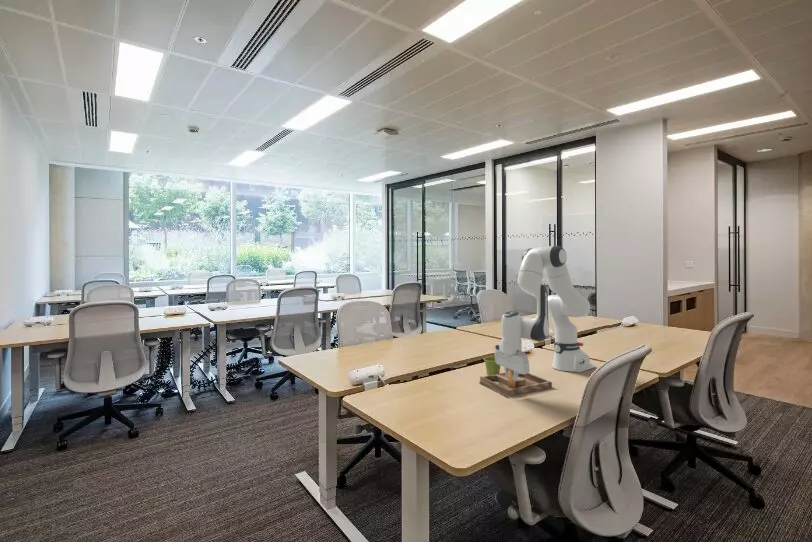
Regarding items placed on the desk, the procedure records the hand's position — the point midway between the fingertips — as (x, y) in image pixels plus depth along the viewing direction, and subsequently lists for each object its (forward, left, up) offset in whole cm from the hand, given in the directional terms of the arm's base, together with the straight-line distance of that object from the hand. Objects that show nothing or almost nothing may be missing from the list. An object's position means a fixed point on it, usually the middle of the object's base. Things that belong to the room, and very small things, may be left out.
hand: (511, 378), depth 179 cm
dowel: (0, 0, -4) cm, 4 cm away
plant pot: (-7, -24, -7) cm, 26 cm away
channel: (-7, -6, -6) cm, 11 cm away
